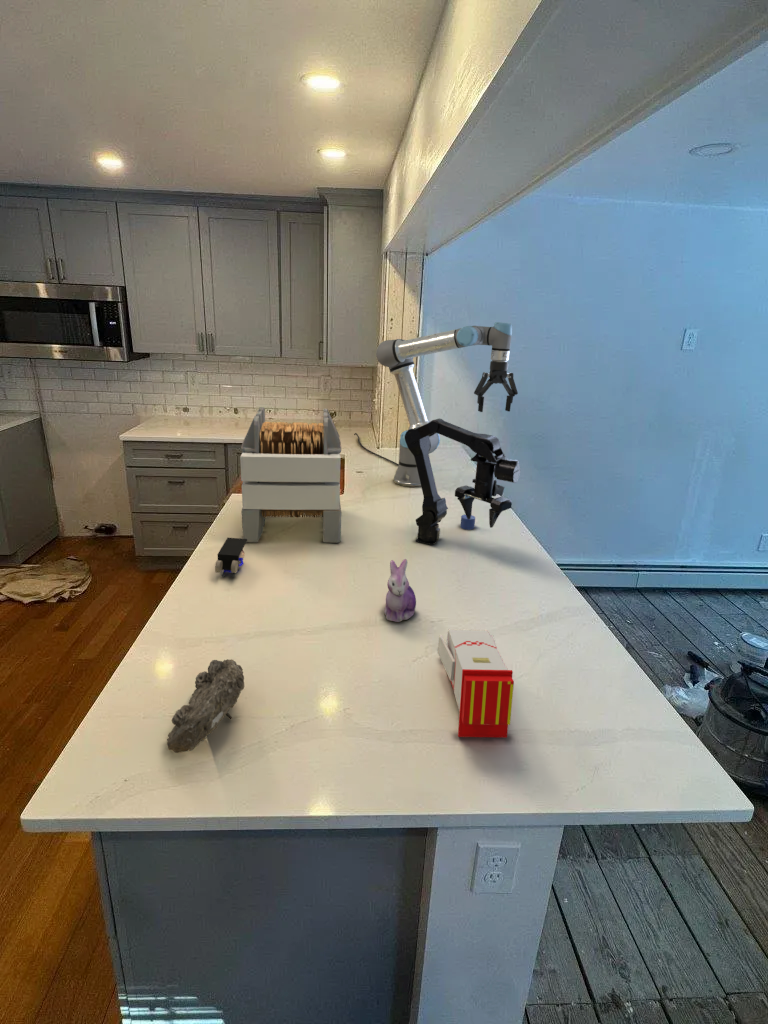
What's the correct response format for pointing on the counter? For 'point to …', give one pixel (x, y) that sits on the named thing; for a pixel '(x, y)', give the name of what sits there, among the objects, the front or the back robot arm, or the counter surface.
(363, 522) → the counter surface
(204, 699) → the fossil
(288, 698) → the counter surface
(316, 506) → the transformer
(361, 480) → the counter surface
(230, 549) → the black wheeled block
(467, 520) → the cylinder
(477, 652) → the toy
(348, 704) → the counter surface
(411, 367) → the back robot arm
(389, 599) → the figurine
